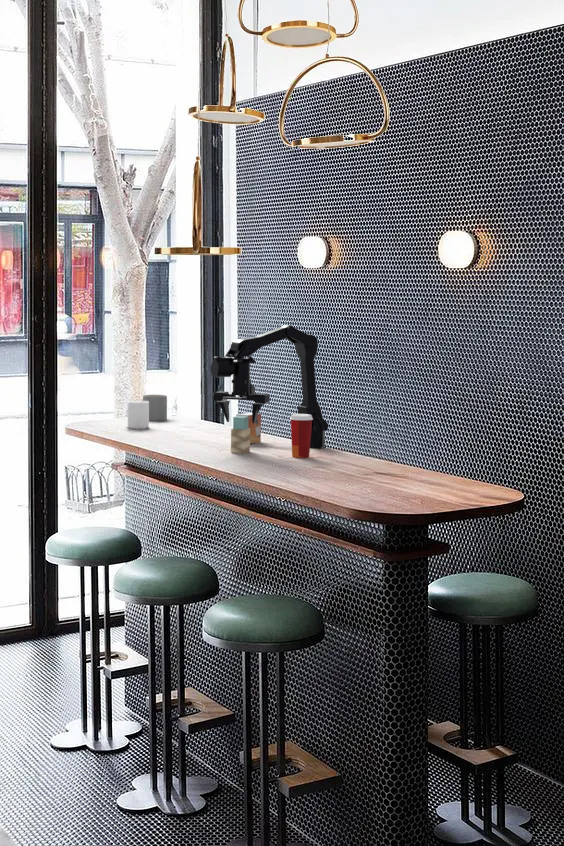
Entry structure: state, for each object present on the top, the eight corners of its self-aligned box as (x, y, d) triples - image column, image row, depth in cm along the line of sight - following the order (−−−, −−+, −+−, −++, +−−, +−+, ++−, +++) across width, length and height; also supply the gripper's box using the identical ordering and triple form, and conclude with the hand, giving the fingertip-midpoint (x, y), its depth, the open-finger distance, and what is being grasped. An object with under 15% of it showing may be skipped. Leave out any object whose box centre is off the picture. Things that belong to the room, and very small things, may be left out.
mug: (118, 426, 426) (118, 400, 425) (136, 424, 431) (136, 399, 430) (134, 429, 417) (134, 403, 416) (152, 428, 422) (152, 402, 421)
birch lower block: (249, 451, 366) (249, 439, 366) (244, 453, 361) (244, 441, 361) (235, 450, 368) (236, 439, 367) (230, 452, 363) (230, 440, 362)
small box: (247, 444, 382) (247, 415, 381) (235, 443, 385) (235, 413, 384) (261, 442, 388) (261, 413, 387) (249, 440, 392) (249, 412, 390)
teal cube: (248, 428, 365) (248, 416, 364) (244, 429, 361) (244, 417, 361) (237, 427, 366) (237, 416, 366) (233, 429, 362) (233, 417, 362)
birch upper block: (250, 439, 366) (250, 428, 365) (244, 441, 361) (245, 430, 360) (236, 439, 367) (236, 427, 367) (231, 440, 362) (231, 429, 362)
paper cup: (314, 455, 359) (315, 414, 357) (309, 459, 351) (309, 416, 350) (292, 454, 361) (292, 413, 359) (286, 457, 353) (286, 415, 352)
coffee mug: (171, 420, 449) (171, 396, 448) (150, 421, 443) (150, 397, 442) (154, 416, 460) (154, 393, 458) (134, 418, 453) (134, 394, 452)
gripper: (275, 376, 366) (274, 421, 368) (223, 373, 372) (223, 418, 374) (264, 378, 356) (264, 425, 358) (212, 376, 361) (211, 422, 363)
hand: (240, 422), depth 363 cm, fingers open, 9 cm apart
